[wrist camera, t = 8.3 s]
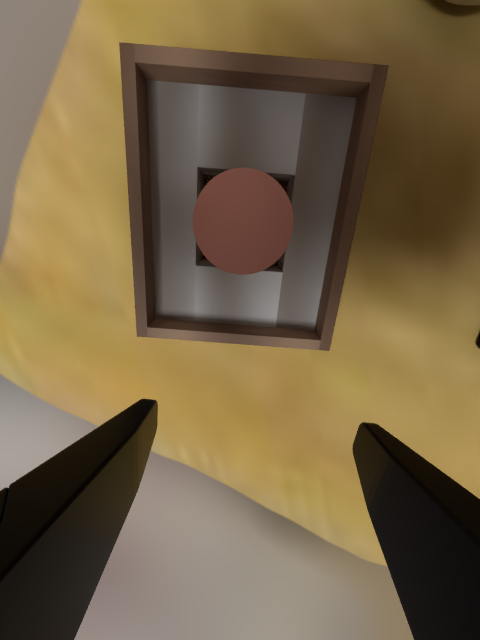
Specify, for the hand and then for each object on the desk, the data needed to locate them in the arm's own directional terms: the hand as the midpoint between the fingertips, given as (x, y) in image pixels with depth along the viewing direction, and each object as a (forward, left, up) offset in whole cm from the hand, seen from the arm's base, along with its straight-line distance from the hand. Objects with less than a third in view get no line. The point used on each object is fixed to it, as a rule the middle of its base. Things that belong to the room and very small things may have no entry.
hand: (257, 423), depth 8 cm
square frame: (+1, -5, -12) cm, 13 cm away
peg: (+1, -5, -12) cm, 13 cm away
